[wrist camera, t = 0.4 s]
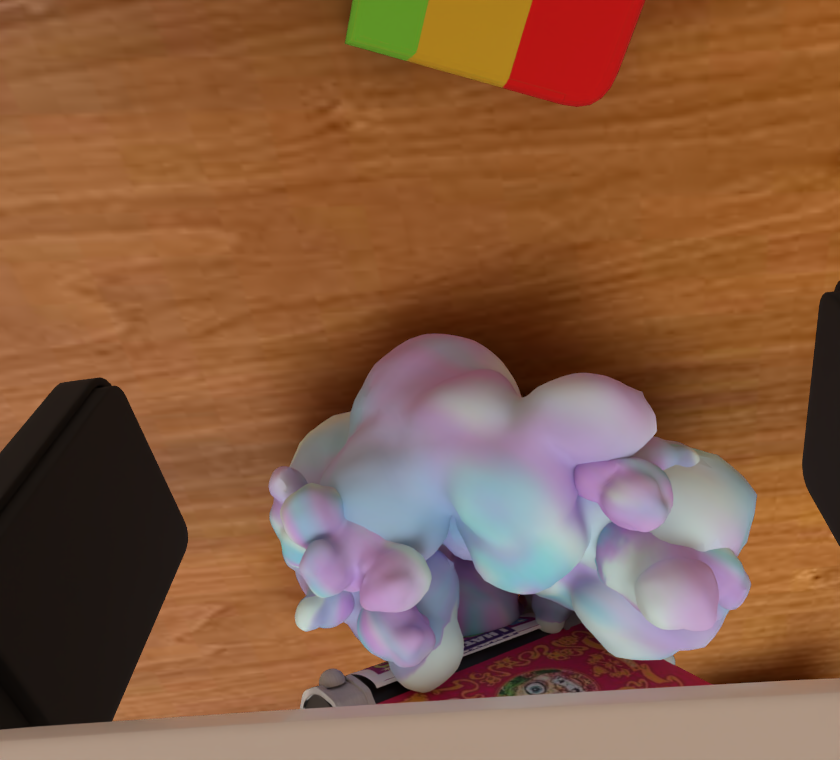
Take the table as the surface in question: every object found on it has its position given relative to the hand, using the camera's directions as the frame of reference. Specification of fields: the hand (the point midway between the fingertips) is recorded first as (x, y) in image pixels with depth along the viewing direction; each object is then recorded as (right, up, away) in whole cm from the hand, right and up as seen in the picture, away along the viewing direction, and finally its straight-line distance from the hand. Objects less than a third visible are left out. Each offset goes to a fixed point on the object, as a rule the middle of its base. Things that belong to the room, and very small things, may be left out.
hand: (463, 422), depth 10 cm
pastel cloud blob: (+3, -5, +28) cm, 28 cm away
